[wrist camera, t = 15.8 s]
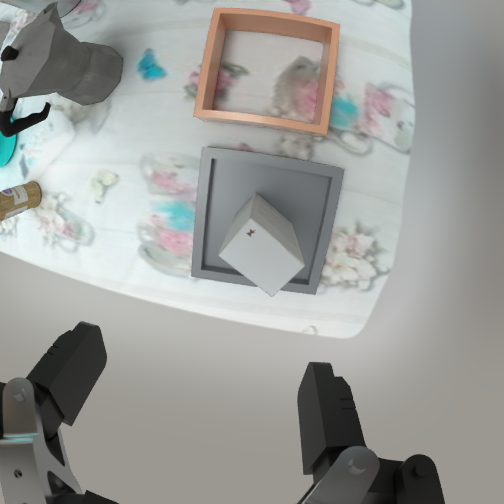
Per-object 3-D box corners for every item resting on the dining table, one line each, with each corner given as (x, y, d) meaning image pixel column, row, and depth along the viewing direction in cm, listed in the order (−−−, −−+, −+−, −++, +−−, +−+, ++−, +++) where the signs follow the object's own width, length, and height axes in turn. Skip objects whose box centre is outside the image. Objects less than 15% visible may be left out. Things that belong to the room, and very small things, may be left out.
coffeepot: (94, 32, 24) (14, -3, 8) (142, 39, 26) (63, -13, 9) (55, 125, 30) (-37, 133, 13) (97, 141, 31) (-4, 152, 14)
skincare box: (232, 217, 33) (215, 254, 22) (255, 191, 32) (250, 215, 21) (270, 249, 34) (271, 299, 23) (293, 224, 33) (307, 264, 22)
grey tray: (206, 146, 31) (202, 146, 29) (338, 167, 31) (344, 169, 29) (195, 268, 37) (191, 276, 34) (312, 285, 37) (315, 294, 35)
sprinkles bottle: (42, 182, 33) (-19, 201, 20) (41, 209, 35) (-17, 235, 22) (26, 179, 33) (-32, 198, 20) (26, 205, 35) (-30, 229, 22)
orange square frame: (221, 24, 25) (214, 7, 20) (330, 39, 25) (339, 24, 20) (203, 120, 30) (193, 116, 25) (317, 136, 30) (326, 134, 25)
